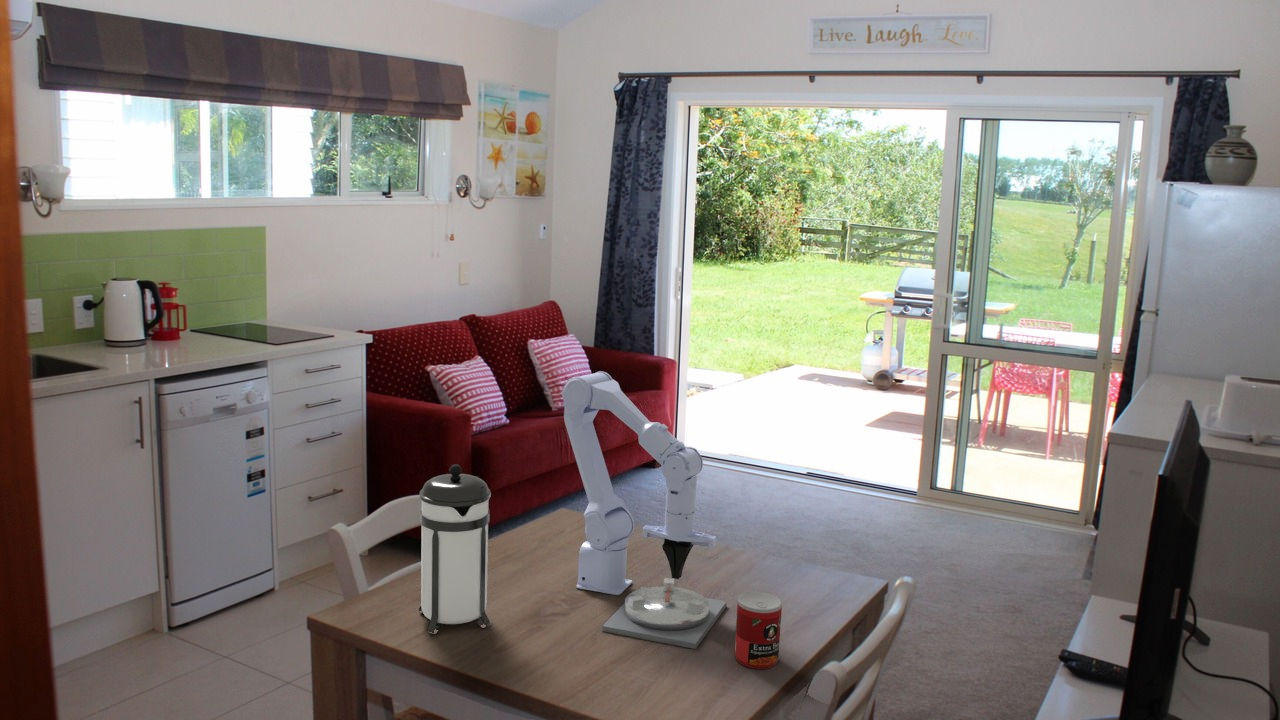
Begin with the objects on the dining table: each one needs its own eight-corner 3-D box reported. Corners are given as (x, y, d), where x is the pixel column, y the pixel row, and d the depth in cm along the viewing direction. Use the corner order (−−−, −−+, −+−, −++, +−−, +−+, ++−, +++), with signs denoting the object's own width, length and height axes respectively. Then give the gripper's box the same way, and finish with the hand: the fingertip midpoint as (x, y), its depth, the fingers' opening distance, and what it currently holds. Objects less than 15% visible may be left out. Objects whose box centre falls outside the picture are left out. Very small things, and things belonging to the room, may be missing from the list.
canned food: (750, 673, 176) (754, 612, 174) (725, 654, 182) (728, 595, 181) (787, 665, 179) (791, 605, 177) (761, 646, 186) (765, 588, 184)
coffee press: (513, 613, 196) (516, 460, 191) (461, 644, 182) (462, 480, 177) (441, 594, 204) (442, 446, 199) (385, 622, 190) (385, 464, 185)
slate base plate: (602, 631, 190) (602, 624, 190) (640, 591, 209) (640, 585, 209) (695, 648, 184) (695, 642, 184) (726, 606, 203) (726, 600, 203)
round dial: (663, 637, 185) (664, 617, 185) (607, 608, 197) (608, 589, 197) (725, 616, 196) (727, 597, 195) (669, 589, 208) (670, 571, 207)
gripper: (721, 510, 201) (717, 576, 203) (651, 499, 206) (648, 564, 208) (711, 520, 194) (707, 588, 197) (639, 509, 199) (636, 576, 201)
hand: (676, 577), depth 202 cm, fingers closed
